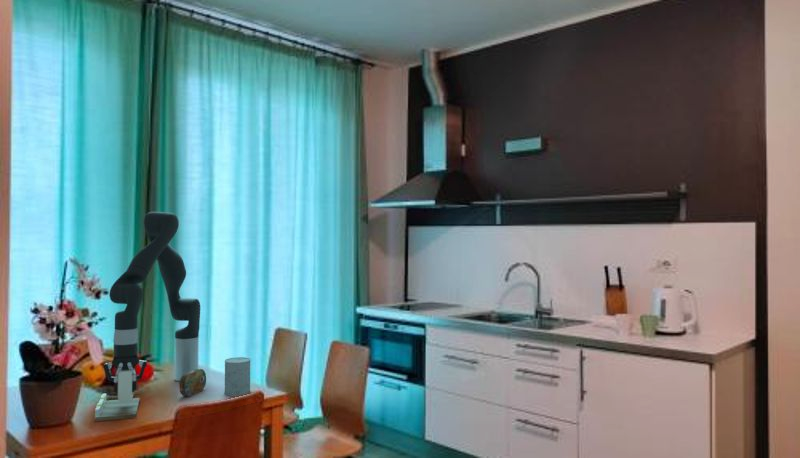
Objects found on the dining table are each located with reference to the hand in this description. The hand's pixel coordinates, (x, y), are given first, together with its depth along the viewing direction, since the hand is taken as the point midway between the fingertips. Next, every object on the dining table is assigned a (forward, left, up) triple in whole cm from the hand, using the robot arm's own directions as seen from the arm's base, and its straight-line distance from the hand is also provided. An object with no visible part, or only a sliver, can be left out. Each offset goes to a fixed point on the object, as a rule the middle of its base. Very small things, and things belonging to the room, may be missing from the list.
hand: (125, 391), depth 202 cm
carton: (0, 0, -2) cm, 2 cm away
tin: (-15, +22, -6) cm, 27 cm away
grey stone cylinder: (-11, +38, -6) cm, 40 cm away
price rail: (0, -7, -5) cm, 9 cm away
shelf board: (0, -2, -6) cm, 6 cm away
